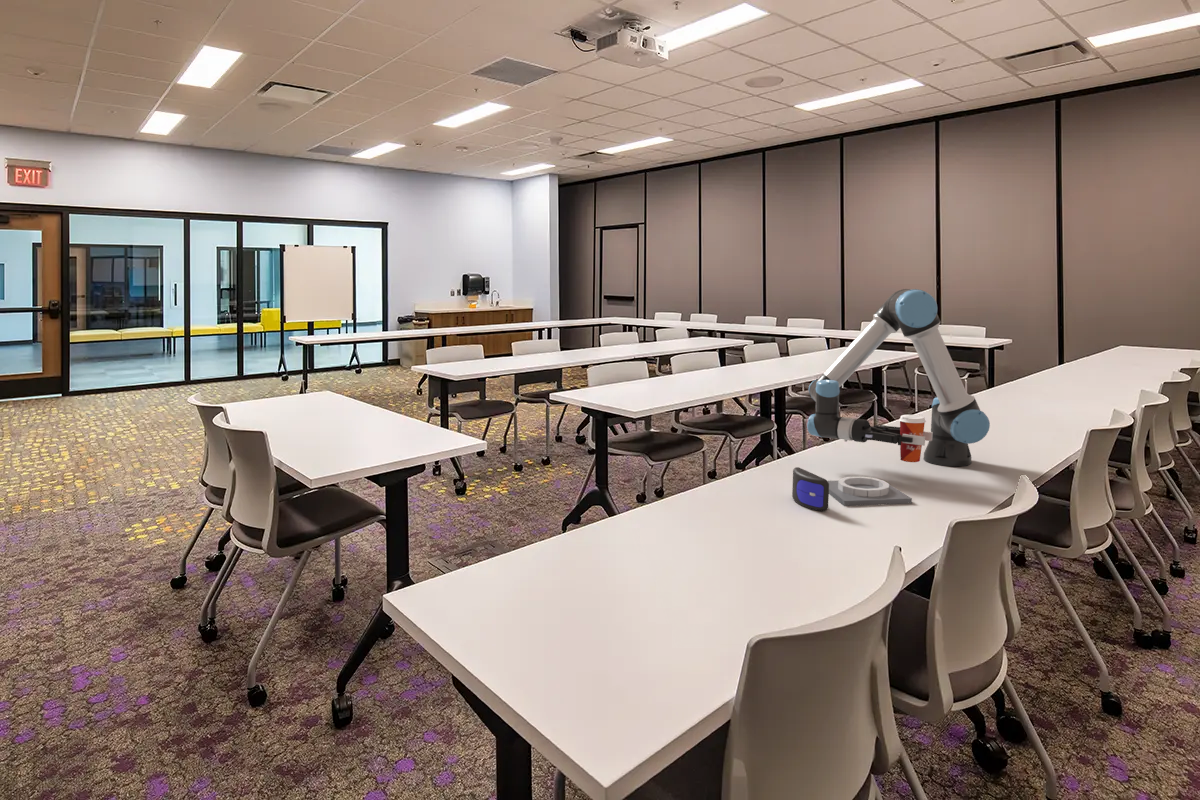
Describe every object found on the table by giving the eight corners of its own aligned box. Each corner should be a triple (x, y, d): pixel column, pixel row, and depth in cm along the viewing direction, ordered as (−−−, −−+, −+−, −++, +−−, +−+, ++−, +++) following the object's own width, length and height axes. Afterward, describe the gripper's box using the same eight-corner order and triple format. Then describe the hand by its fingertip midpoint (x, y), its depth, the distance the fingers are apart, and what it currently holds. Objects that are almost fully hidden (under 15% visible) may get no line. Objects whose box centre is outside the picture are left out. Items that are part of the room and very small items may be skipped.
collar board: (880, 483, 221) (880, 472, 220) (911, 503, 201) (912, 491, 201) (818, 485, 220) (818, 475, 219) (844, 506, 200) (844, 494, 200)
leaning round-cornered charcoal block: (783, 497, 209) (784, 467, 208) (797, 495, 211) (798, 465, 209) (815, 514, 194) (816, 481, 192) (829, 512, 195) (830, 480, 194)
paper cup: (912, 464, 214) (914, 419, 212) (891, 459, 221) (893, 415, 218) (929, 460, 218) (931, 417, 215) (908, 455, 224) (910, 413, 222)
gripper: (865, 435, 237) (937, 444, 222) (842, 446, 223) (917, 457, 208) (866, 414, 236) (938, 421, 221) (843, 423, 222) (918, 432, 207)
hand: (928, 438), depth 215 cm, fingers closed on paper cup, 6 cm apart
